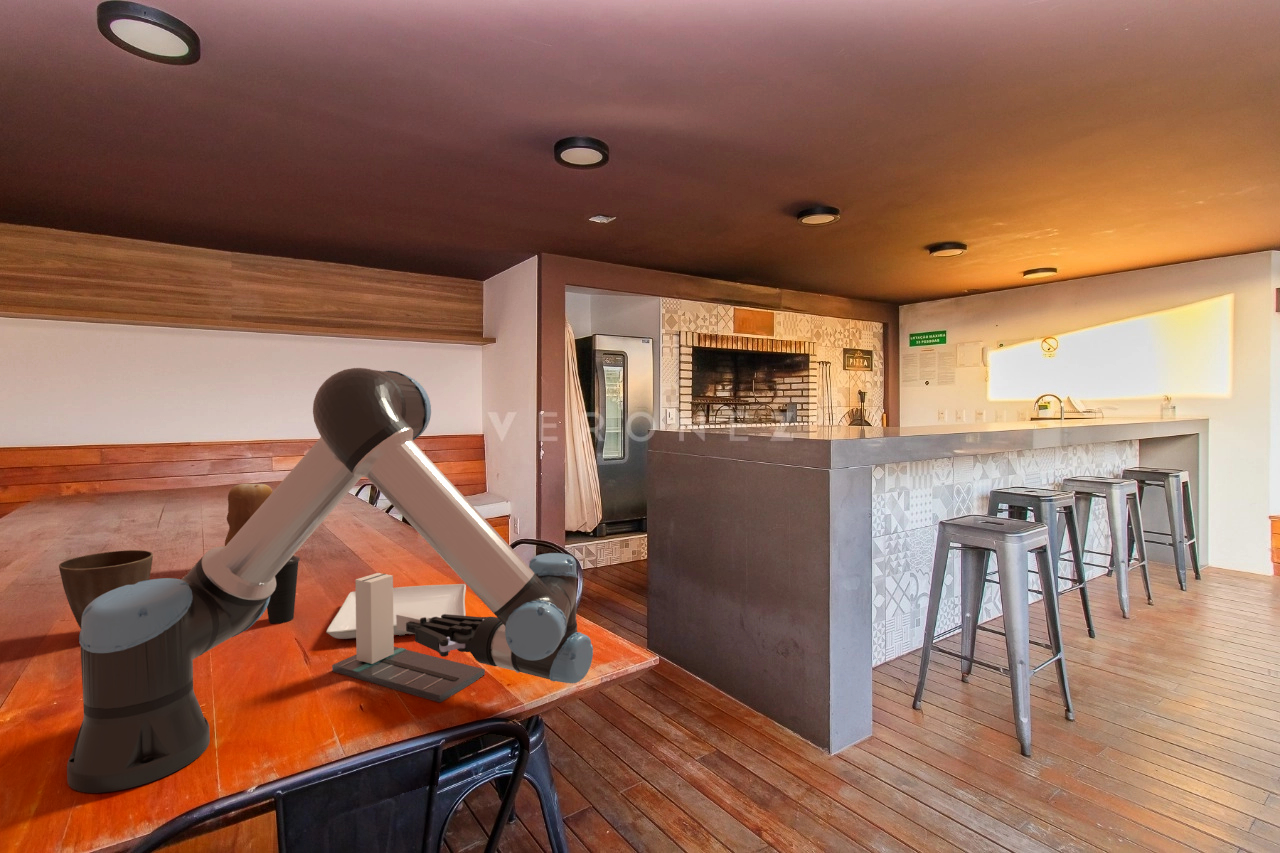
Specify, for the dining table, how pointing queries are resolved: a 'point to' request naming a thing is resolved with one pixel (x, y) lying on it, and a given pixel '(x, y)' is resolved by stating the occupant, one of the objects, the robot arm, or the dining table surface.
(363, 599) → the fader tab
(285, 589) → the drinking cup
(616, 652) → the dining table surface
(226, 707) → the dining table surface
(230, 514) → the butternut squash
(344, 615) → the square plate
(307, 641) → the dining table surface
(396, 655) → the dark grey marked board
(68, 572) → the plant pot
